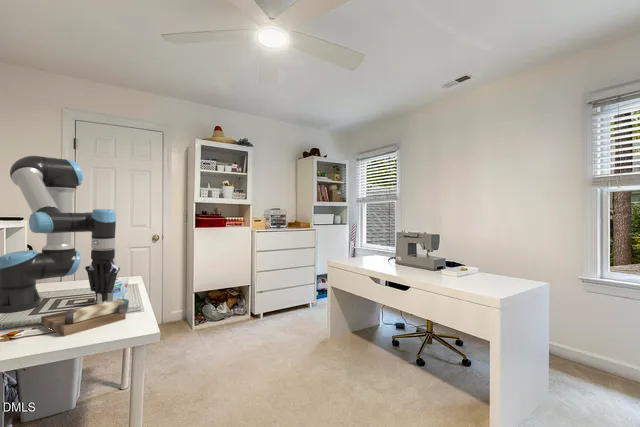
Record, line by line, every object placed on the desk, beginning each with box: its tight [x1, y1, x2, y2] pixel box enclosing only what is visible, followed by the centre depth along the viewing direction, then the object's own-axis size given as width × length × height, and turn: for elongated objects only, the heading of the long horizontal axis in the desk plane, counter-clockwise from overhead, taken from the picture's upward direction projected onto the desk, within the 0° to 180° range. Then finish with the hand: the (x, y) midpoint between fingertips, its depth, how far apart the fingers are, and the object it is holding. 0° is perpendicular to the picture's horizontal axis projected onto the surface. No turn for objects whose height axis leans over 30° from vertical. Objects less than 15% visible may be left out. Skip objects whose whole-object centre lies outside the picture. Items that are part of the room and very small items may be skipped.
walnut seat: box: [40, 303, 129, 337], centre depth 117 cm, size 18×20×6 cm
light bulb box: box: [106, 276, 129, 303], centre depth 141 cm, size 11×7×11 cm, turn 179°
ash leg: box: [64, 299, 130, 324], centre depth 116 cm, size 21×4×4 cm, turn 152°
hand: (101, 309), depth 120 cm, fingers closed
